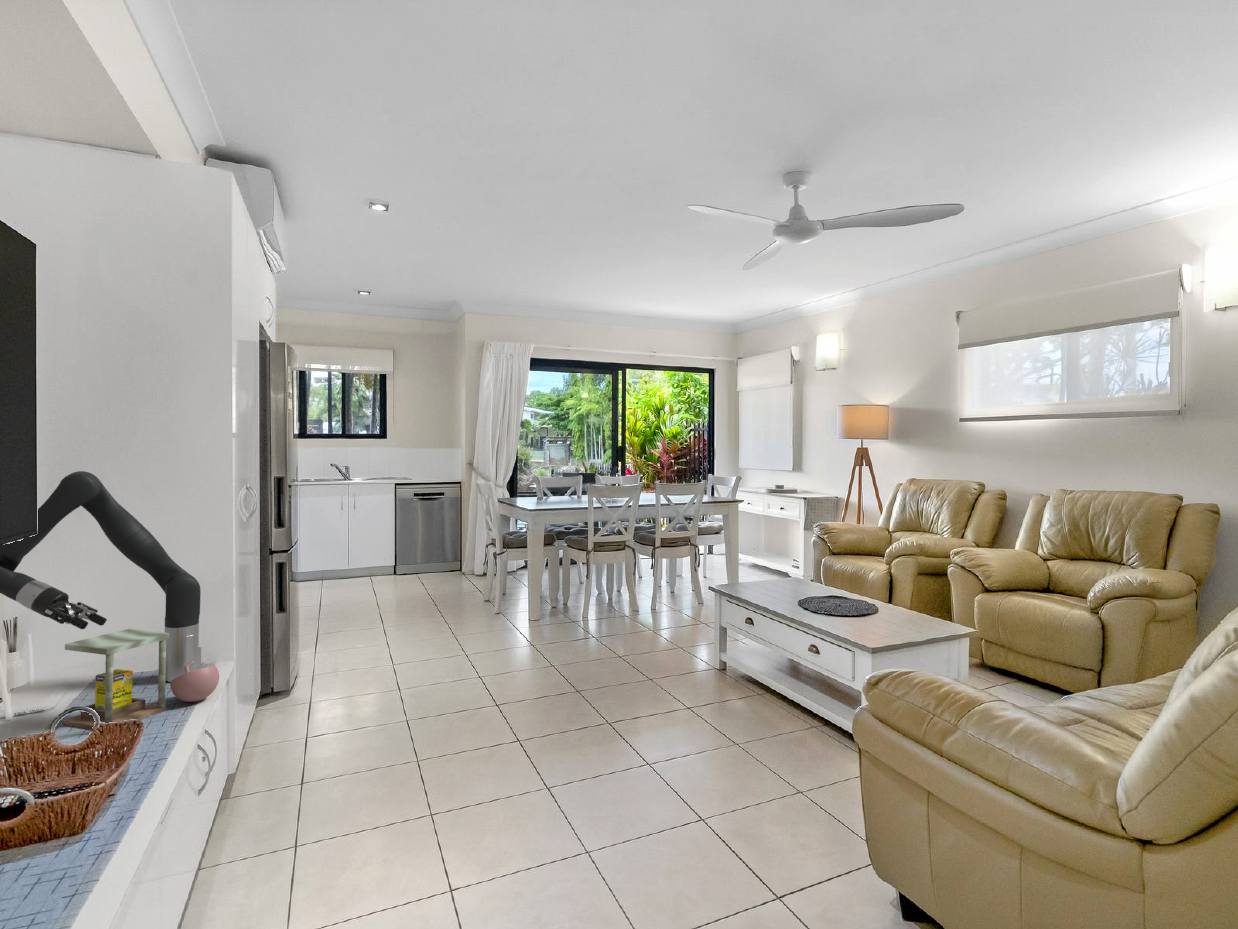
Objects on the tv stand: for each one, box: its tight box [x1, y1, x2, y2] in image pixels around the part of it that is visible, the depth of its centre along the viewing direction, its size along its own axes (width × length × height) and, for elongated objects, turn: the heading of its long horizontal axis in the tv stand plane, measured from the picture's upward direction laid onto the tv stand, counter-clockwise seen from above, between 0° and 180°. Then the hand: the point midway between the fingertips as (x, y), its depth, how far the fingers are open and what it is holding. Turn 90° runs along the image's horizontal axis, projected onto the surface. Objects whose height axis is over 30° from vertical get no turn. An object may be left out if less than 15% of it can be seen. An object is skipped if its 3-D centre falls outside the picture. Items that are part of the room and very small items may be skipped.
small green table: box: [62, 628, 169, 730], centre depth 178 cm, size 17×16×22 cm
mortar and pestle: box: [169, 661, 220, 703], centre depth 191 cm, size 12×12×12 cm
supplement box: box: [94, 668, 134, 710], centre depth 178 cm, size 6×6×11 cm
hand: (95, 624), depth 188 cm, fingers open, 8 cm apart
